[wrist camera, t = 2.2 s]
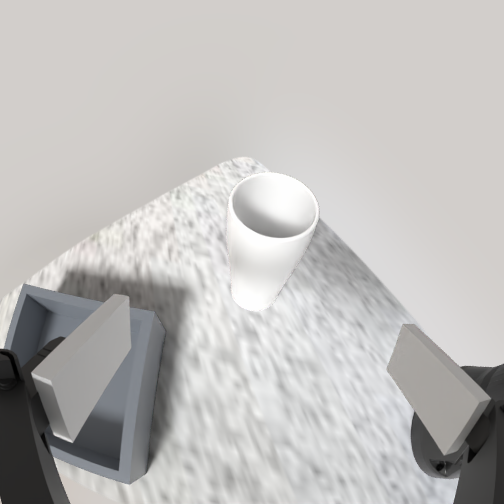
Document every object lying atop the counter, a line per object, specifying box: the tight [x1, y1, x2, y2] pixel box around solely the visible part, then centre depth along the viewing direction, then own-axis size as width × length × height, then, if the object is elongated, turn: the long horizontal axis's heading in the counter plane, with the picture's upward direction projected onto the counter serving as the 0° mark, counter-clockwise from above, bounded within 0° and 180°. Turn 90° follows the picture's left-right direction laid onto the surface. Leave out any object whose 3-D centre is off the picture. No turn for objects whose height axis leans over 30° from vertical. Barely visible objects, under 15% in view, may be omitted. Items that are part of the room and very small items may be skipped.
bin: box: [4, 284, 166, 485], centre depth 23 cm, size 16×16×6 cm
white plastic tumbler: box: [226, 172, 320, 311], centre depth 27 cm, size 7×7×15 cm
